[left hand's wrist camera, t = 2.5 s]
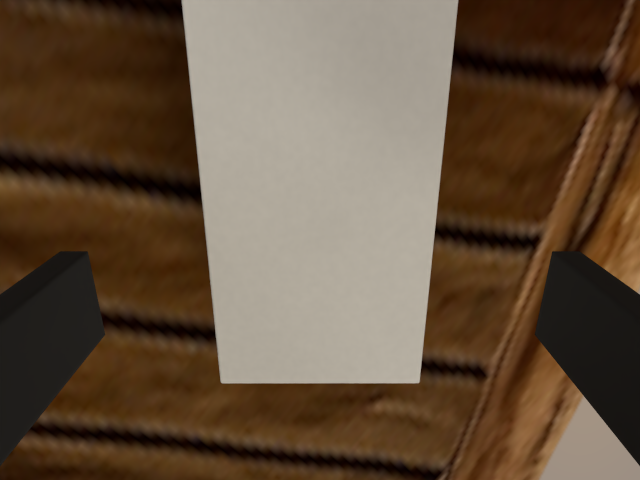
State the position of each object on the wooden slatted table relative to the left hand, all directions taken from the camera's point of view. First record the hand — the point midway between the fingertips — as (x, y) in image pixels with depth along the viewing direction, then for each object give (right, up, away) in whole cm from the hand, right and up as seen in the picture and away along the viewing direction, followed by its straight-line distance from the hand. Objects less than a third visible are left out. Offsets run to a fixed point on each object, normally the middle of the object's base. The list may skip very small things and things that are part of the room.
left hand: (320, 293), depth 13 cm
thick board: (0, +22, +3) cm, 22 cm away
